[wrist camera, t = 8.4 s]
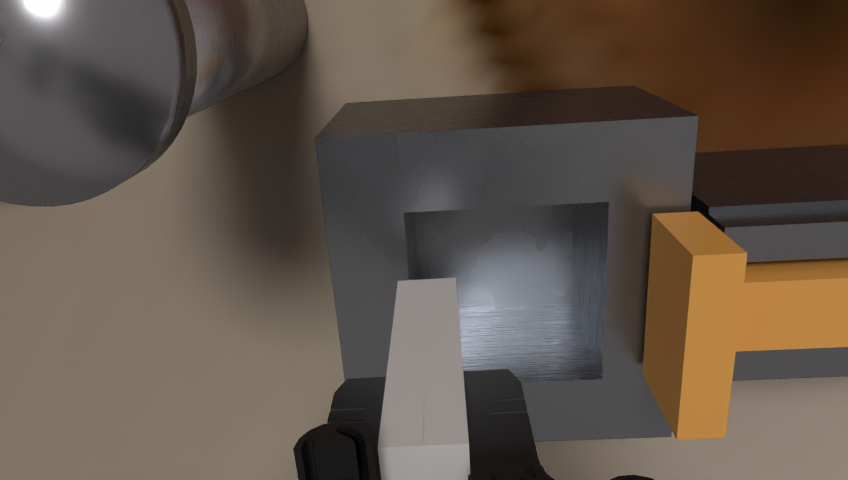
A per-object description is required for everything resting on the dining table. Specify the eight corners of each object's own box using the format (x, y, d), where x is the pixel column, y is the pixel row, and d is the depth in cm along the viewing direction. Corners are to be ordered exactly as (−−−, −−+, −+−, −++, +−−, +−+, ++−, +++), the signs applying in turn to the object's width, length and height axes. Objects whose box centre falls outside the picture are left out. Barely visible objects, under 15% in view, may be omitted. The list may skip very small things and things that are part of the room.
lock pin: (642, 374, 19) (676, 439, 16) (652, 213, 17) (692, 255, 15) (965, 361, 19) (1057, 426, 16) (1009, 195, 17) (1121, 234, 14)
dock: (372, 351, 26) (348, 471, 20) (346, 102, 23) (306, 147, 16) (919, 328, 25) (1088, 446, 19) (980, 64, 22) (1215, 95, 15)
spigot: (190, 98, 23) (-95, 214, 11) (161, -58, 21) (-219, -128, 9) (330, 89, 23) (202, 198, 11) (312, -69, 21) (134, -155, 9)
